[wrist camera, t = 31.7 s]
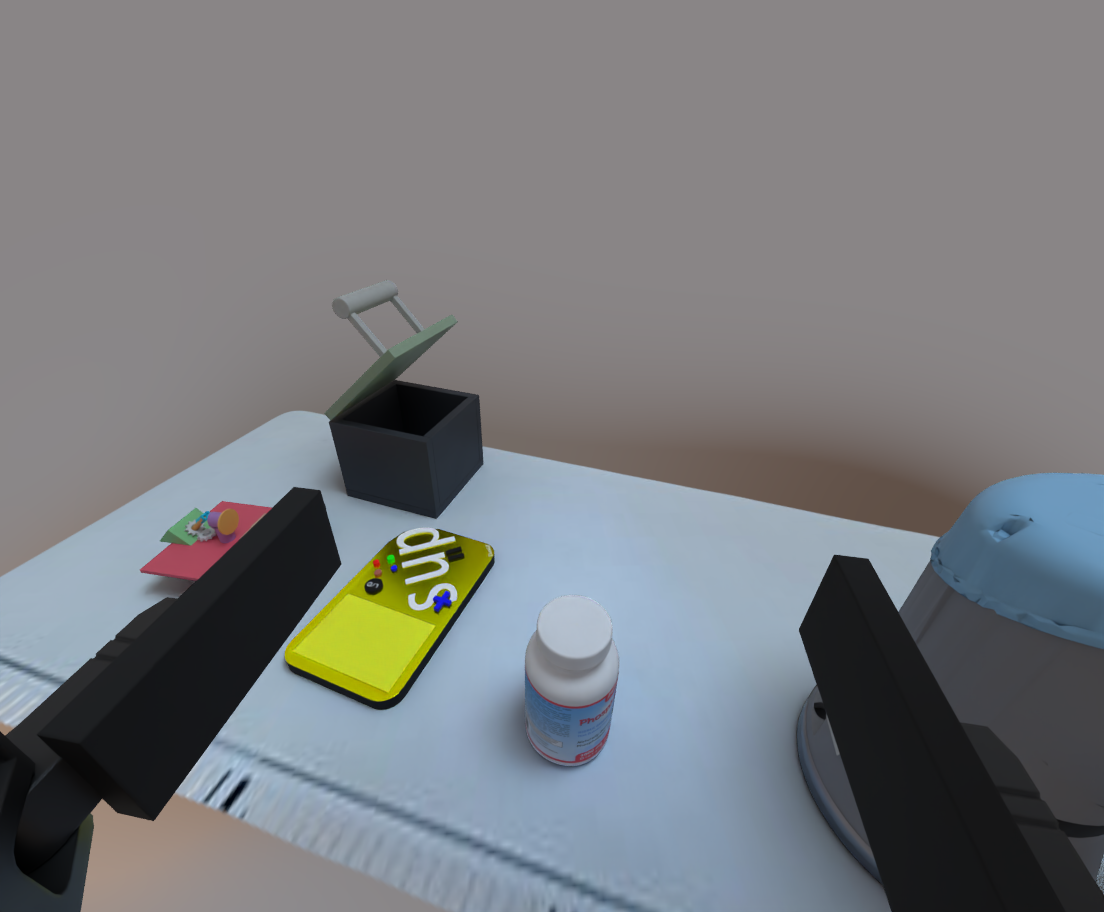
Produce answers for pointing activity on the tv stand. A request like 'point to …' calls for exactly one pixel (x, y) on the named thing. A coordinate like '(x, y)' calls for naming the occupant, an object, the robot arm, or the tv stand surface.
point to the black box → (409, 446)
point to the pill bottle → (570, 680)
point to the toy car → (203, 539)
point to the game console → (391, 616)
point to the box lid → (391, 359)
